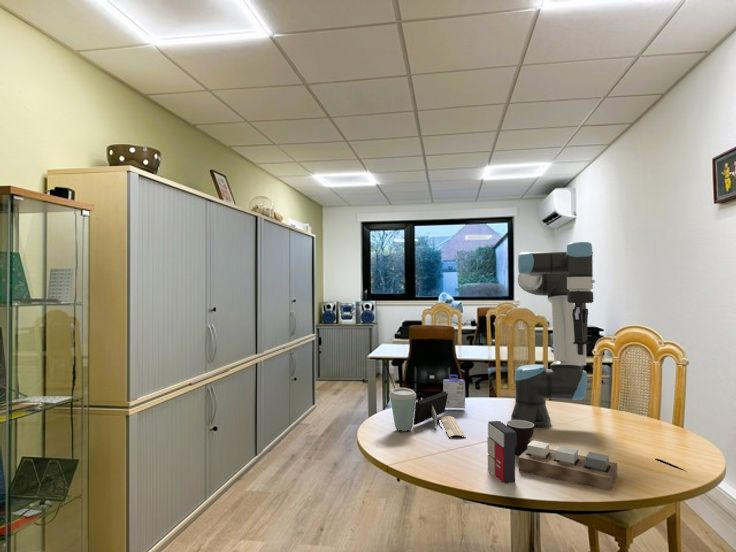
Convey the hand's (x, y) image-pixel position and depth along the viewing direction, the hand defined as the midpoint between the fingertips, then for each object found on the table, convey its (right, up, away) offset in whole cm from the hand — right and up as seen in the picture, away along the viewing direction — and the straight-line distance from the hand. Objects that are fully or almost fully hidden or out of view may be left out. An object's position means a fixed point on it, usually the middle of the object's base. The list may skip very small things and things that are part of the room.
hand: (581, 364), depth 143 cm
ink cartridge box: (-28, -32, +62) cm, 76 cm away
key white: (-17, -27, -8) cm, 33 cm away
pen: (+24, -31, -8) cm, 39 cm away
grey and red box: (-29, -31, -13) cm, 44 cm away
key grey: (-10, -27, -13) cm, 32 cm away
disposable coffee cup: (-54, -32, +32) cm, 70 cm away
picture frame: (-37, -28, +43) cm, 63 cm away
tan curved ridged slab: (-36, -32, +33) cm, 58 cm away
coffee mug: (-16, -31, +6) cm, 35 cm away
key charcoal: (-4, -27, -18) cm, 33 cm away
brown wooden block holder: (-10, -30, -13) cm, 34 cm away
